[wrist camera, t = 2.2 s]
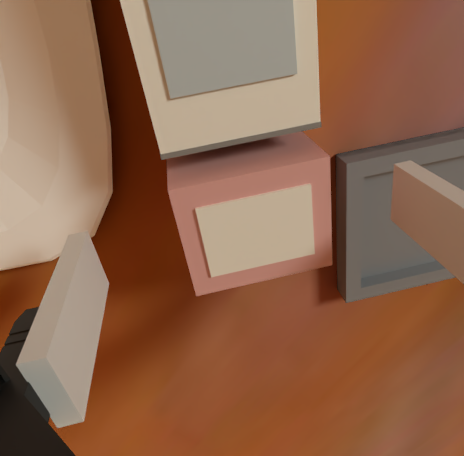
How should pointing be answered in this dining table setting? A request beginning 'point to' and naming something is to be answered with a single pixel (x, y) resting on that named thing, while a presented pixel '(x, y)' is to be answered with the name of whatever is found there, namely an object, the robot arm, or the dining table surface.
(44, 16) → the plate
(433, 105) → the dining table surface
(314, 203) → the stub
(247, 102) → the grey-panelled beige block
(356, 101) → the dining table surface
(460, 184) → the stub tray
